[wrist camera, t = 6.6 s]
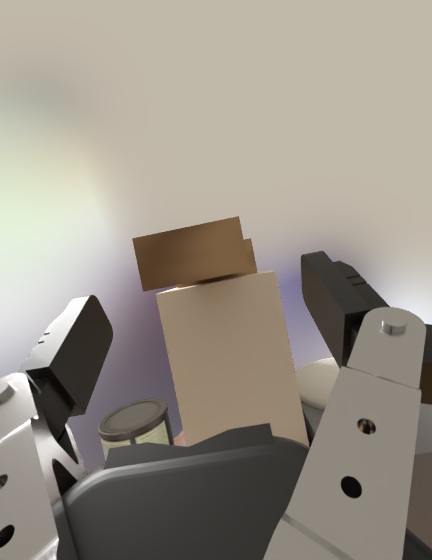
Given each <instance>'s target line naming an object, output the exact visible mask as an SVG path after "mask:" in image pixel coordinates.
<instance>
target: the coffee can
mask: <svg viewBox="0 0 432 560" xmlns="http://www.w3.org/2000/svg"><path fill="white" fill-rule="evenodd" d="M167 411H168V407H167V403H166V402H165V401H163V400H161V399H144V400H139V401H135V402H132V403H129V404H127V405H124V406H122V407H120V408H118V409H116V410H114V411H113V412H111V413H110V414H108V415H107V416H106V417H104V419H102V421H101V422H100V423H99V425H98V431H99V435H100V436H101V440H102V446H103V450H104V455H105V459H107V455H108V451H109V448H114V447H120V446H127V445H133V444H139V443H146V442H150V443H158V444H166V445H174V441H173V436H172V431H171V426H170V422H169V417H168V412H167ZM174 446H175V445H174Z"/></svg>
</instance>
